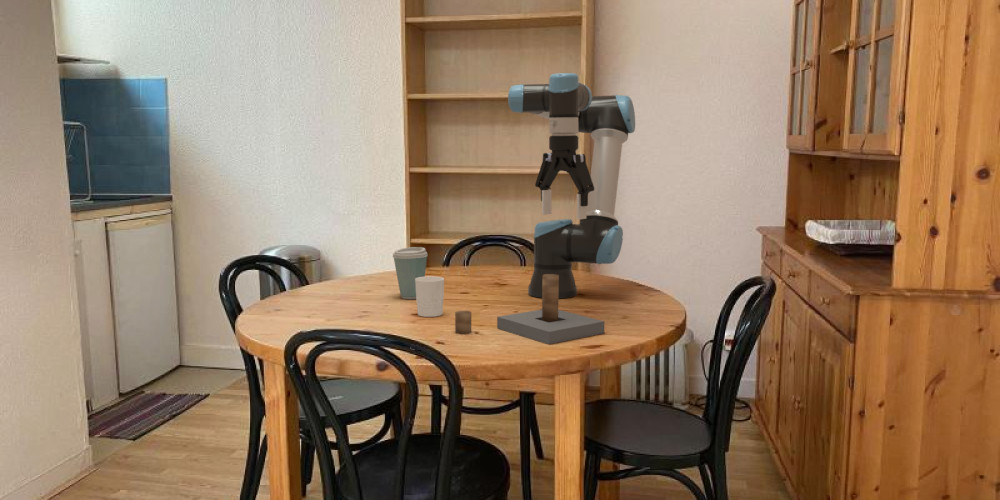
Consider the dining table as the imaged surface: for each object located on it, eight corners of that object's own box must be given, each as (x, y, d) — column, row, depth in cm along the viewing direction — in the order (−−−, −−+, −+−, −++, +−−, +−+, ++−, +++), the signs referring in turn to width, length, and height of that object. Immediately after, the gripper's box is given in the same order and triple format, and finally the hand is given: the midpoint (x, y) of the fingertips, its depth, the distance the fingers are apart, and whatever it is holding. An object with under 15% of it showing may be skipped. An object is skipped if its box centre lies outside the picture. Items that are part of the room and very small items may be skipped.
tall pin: (538, 330, 192) (539, 275, 190) (550, 328, 194) (551, 273, 193) (549, 333, 189) (549, 277, 187) (561, 331, 191) (562, 275, 189)
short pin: (452, 331, 191) (452, 312, 190) (465, 329, 193) (465, 309, 193) (461, 334, 188) (461, 314, 187) (474, 332, 190) (474, 312, 189)
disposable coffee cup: (413, 302, 227) (413, 252, 225) (385, 298, 232) (384, 249, 230) (435, 296, 236) (434, 248, 234) (407, 293, 241) (407, 245, 239)
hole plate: (497, 328, 194) (497, 316, 194) (551, 318, 205) (551, 307, 205) (548, 344, 178) (548, 331, 178) (604, 333, 189) (604, 321, 189)
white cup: (422, 318, 205) (421, 282, 204) (411, 313, 212) (410, 277, 211) (449, 315, 209) (448, 279, 207) (437, 310, 216) (437, 275, 214)
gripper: (521, 134, 205) (522, 213, 209) (586, 135, 186) (586, 222, 189) (543, 134, 210) (543, 211, 213) (608, 134, 190) (607, 219, 194)
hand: (563, 216), depth 201 cm, fingers open, 13 cm apart
